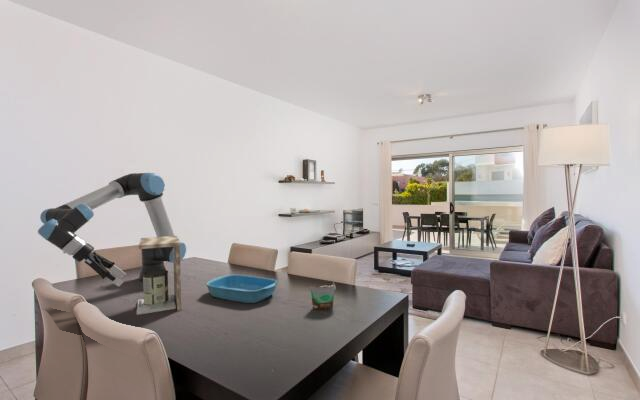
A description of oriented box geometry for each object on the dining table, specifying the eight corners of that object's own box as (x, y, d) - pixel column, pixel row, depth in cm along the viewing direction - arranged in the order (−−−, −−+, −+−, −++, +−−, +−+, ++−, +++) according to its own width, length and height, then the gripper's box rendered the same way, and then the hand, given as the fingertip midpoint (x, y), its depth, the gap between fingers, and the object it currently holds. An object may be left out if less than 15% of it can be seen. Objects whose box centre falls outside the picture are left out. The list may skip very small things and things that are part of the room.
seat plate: (136, 314, 136) (136, 308, 136) (138, 301, 152) (138, 296, 152) (175, 308, 143) (175, 303, 143) (173, 296, 159) (173, 291, 159)
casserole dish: (197, 297, 159) (197, 282, 159) (229, 285, 179) (228, 272, 179) (258, 308, 143) (258, 292, 142) (285, 294, 163) (285, 280, 163)
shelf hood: (140, 316, 134) (138, 245, 133) (142, 299, 155) (140, 238, 154) (181, 310, 141) (179, 242, 140) (177, 294, 162) (176, 235, 162)
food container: (316, 313, 136) (315, 289, 136) (309, 308, 142) (309, 285, 142) (341, 308, 142) (341, 285, 142) (334, 303, 147) (334, 282, 147)
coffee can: (156, 298, 154) (155, 268, 153) (173, 300, 150) (173, 270, 150) (137, 305, 144) (136, 274, 144) (155, 308, 141) (155, 275, 140)
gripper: (77, 251, 144) (118, 279, 152) (64, 262, 122) (112, 295, 130) (91, 238, 147) (130, 266, 154) (80, 247, 125) (127, 280, 132)
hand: (122, 280), depth 142 cm, fingers open, 13 cm apart
